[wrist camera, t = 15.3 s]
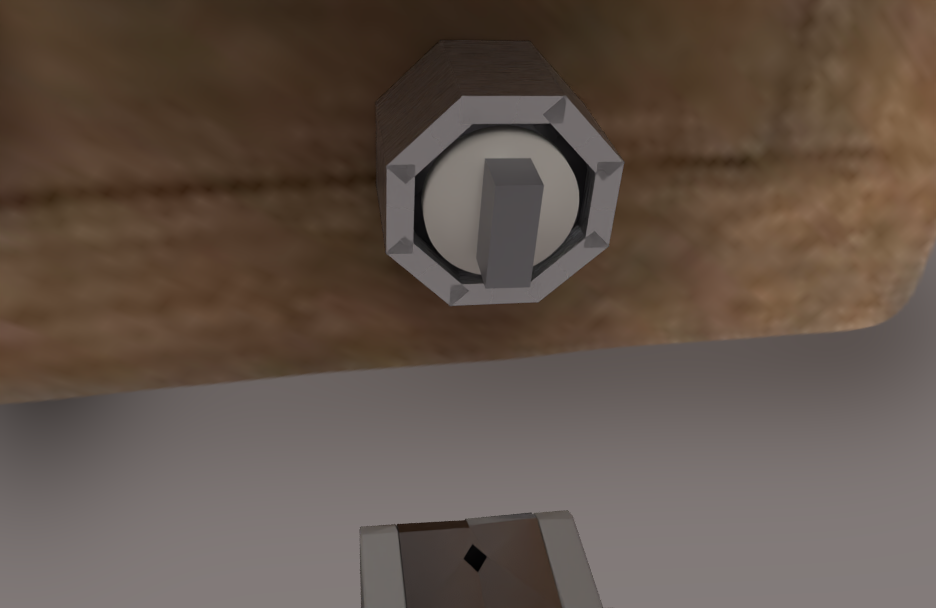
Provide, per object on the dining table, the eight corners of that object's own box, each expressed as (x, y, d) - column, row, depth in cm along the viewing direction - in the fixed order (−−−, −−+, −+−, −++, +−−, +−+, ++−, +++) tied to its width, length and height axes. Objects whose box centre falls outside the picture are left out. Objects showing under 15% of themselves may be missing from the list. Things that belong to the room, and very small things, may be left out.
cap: (424, 124, 35) (434, 163, 32) (583, 125, 36) (607, 162, 33) (418, 263, 39) (427, 309, 36) (561, 260, 40) (581, 304, 37)
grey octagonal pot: (374, 38, 38) (385, 95, 33) (591, 40, 40) (637, 95, 34) (375, 233, 44) (385, 309, 39) (563, 228, 46) (599, 300, 41)
